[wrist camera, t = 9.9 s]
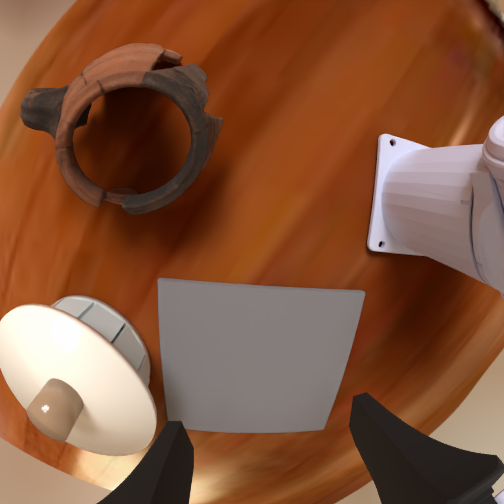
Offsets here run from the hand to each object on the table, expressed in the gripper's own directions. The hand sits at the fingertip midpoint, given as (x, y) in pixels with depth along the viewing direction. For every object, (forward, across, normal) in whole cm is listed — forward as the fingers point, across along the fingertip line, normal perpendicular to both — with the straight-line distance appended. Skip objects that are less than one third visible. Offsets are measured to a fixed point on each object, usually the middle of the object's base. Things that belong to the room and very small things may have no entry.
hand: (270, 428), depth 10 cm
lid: (+4, +13, +1) cm, 14 cm away
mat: (+9, 0, +4) cm, 10 cm away
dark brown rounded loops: (+10, +6, -15) cm, 19 cm away
